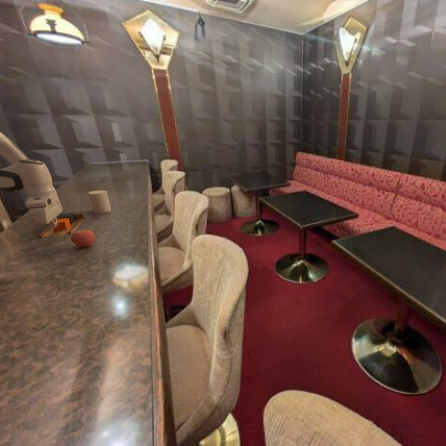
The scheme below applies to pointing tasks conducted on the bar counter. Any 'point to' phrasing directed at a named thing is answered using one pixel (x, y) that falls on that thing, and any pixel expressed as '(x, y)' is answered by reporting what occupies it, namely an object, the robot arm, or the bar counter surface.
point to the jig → (70, 230)
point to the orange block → (62, 224)
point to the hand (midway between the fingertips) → (54, 227)
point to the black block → (69, 215)
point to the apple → (83, 238)
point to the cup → (100, 201)
